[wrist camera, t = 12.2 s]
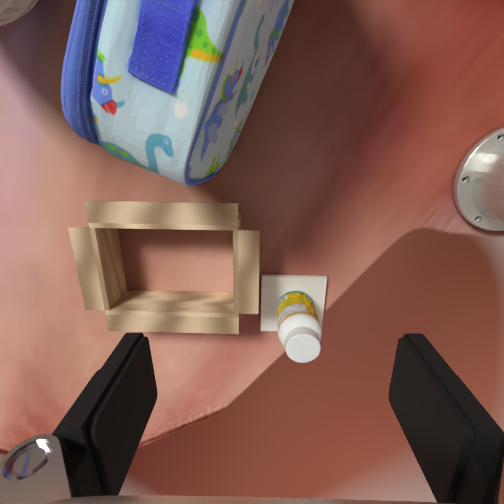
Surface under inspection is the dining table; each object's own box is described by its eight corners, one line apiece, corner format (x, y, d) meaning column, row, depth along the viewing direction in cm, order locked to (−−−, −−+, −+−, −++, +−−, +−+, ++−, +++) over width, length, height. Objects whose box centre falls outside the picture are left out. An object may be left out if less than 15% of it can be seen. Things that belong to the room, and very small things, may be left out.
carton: (260, 195, 39) (260, 203, 34) (258, 311, 45) (257, 334, 40) (88, 192, 39) (62, 200, 34) (109, 308, 45) (89, 330, 40)
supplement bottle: (273, 290, 43) (276, 331, 34) (311, 286, 42) (325, 326, 33) (278, 323, 45) (282, 369, 36) (314, 319, 44) (328, 365, 35)
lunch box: (223, -137, 28) (134, -774, 8) (326, -79, 29) (460, -516, 10) (145, 140, 37) (13, 143, 17) (227, 175, 38) (192, 217, 18)
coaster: (326, 275, 42) (327, 277, 42) (320, 330, 46) (321, 332, 45) (261, 274, 43) (261, 276, 42) (260, 328, 46) (260, 330, 45)
